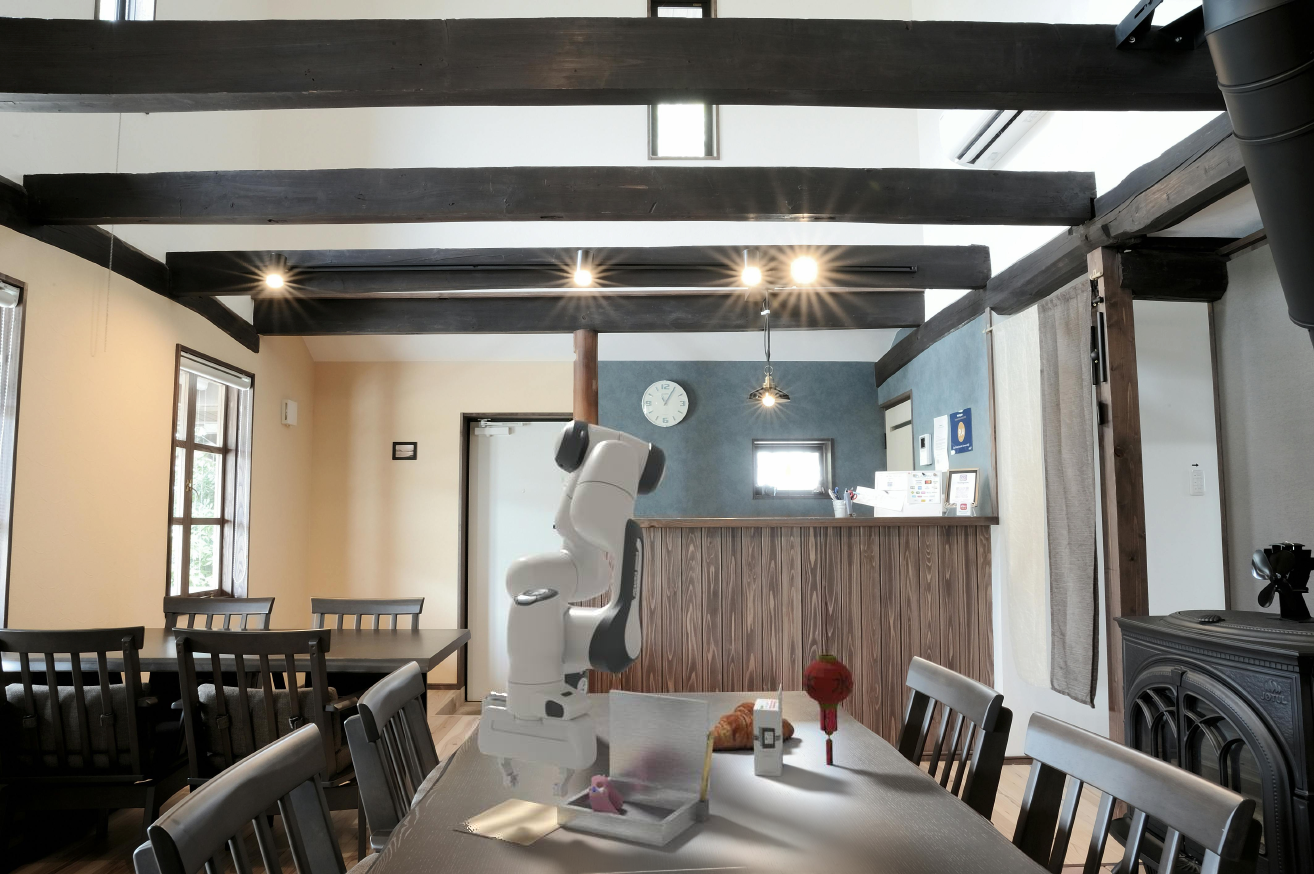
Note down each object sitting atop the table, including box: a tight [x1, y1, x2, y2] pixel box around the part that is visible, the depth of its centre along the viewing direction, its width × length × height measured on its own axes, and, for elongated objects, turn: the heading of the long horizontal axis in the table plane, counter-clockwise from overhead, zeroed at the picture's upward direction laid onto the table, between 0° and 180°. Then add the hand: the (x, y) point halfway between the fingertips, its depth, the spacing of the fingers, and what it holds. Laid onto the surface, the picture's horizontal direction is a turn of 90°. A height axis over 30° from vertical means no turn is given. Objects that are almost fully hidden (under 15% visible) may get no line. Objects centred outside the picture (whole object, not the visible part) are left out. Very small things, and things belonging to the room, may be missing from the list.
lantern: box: [802, 601, 854, 766], centre depth 157 cm, size 10×10×30 cm
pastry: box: [709, 701, 795, 751], centre depth 171 cm, size 17×15×8 cm
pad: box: [460, 797, 564, 847], centre depth 127 cm, size 14×14×1 cm
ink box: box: [753, 683, 784, 777], centre depth 154 cm, size 9×5×15 cm, turn 168°
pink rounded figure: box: [588, 774, 624, 815], centre depth 128 cm, size 10×5×7 cm, turn 2°
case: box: [556, 689, 714, 847], centre depth 129 cm, size 19×16×18 cm
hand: (535, 790), depth 126 cm, fingers open, 8 cm apart
